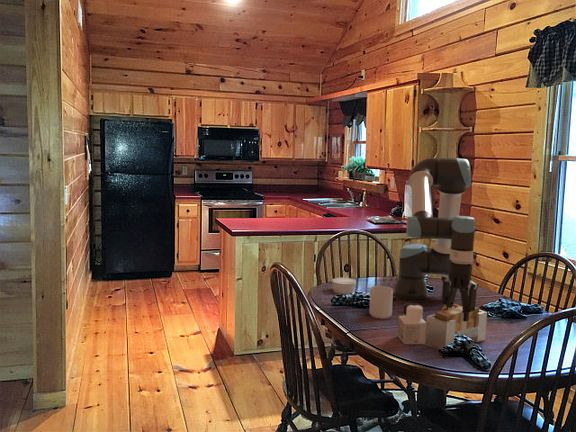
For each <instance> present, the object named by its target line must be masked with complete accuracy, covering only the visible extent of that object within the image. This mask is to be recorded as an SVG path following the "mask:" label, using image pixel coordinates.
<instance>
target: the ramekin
mask: <svg viewBox="0 0 576 432" xmlns="http://www.w3.org/2000/svg"><path fill="white" fill-rule="evenodd" d="M331 283H332V291H334V293H336V294H339V295H340V294H341V295H349V294H348V293H351V294H352V292H353V293H354V291H355V288H356V284H357V280H355V279H354V278H350V277H336V278H332V279H331Z"/></svg>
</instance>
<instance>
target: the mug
mask: <svg viewBox="0 0 576 432" xmlns="http://www.w3.org/2000/svg"><path fill="white" fill-rule="evenodd" d="M369 290H370V291H369V314H370V315H371V317H372V318H375V319H379V318H380V320H381V319H382V320H383V319H389V318H390V317H391V316H392V314H393V299H394V288H392V287H390V286H386V285H373V286H371V287H370V288H369Z"/></svg>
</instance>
